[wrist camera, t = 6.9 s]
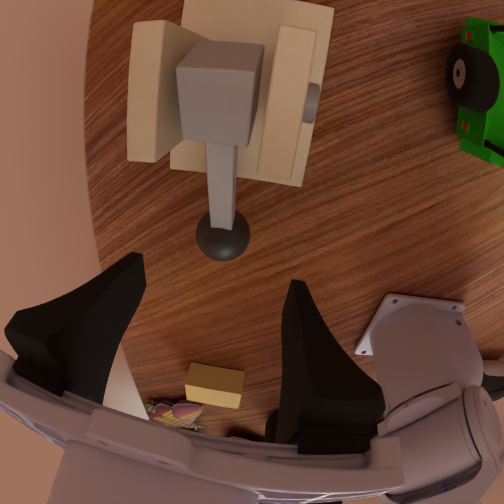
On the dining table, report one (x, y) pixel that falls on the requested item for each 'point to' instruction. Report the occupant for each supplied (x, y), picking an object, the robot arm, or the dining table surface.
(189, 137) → the arcade joystick
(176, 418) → the decorative ornament
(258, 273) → the dining table surface
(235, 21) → the wooden lever stand
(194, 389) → the butter
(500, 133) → the toy car
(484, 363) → the figurine
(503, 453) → the robot arm
